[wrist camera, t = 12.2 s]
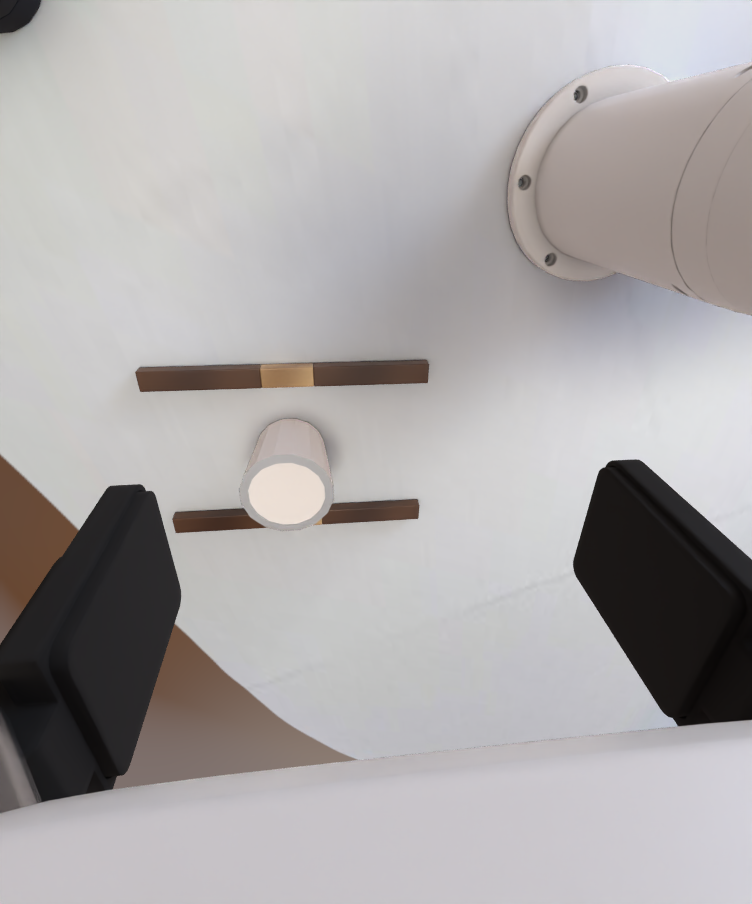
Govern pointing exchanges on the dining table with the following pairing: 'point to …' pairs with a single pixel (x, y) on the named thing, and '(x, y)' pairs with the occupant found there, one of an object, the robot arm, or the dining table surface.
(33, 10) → the wine bottle
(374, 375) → the guide rails
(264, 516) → the white cup
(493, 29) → the dining table surface
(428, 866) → the robot arm
